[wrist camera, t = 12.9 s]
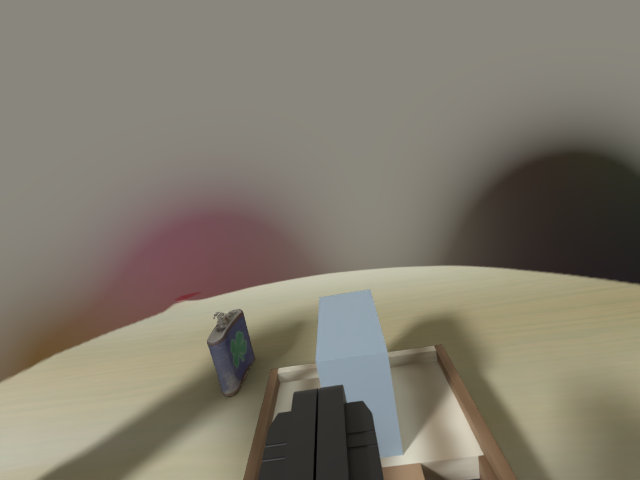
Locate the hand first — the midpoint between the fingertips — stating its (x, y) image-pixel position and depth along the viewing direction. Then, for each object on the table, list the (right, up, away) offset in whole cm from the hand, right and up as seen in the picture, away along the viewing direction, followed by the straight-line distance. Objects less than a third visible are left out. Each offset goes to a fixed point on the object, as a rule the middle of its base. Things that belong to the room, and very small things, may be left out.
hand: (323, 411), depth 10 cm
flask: (-12, -16, +41) cm, 46 cm away
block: (+5, -13, +26) cm, 30 cm away
